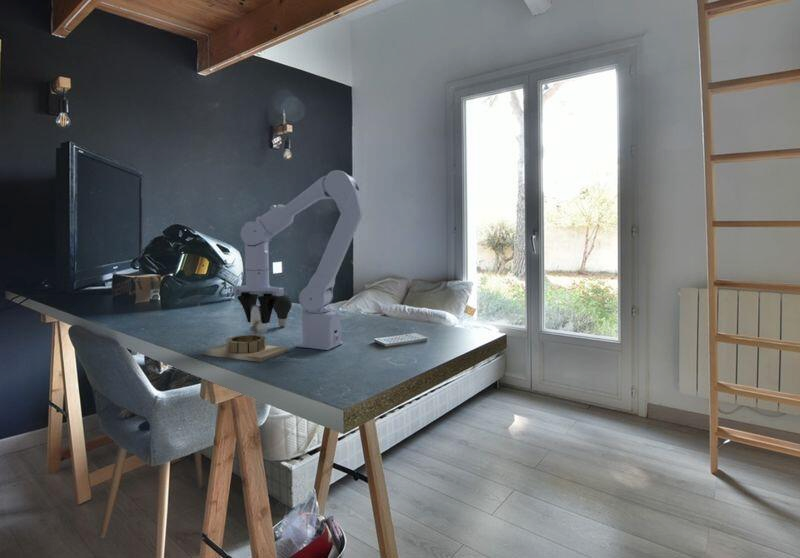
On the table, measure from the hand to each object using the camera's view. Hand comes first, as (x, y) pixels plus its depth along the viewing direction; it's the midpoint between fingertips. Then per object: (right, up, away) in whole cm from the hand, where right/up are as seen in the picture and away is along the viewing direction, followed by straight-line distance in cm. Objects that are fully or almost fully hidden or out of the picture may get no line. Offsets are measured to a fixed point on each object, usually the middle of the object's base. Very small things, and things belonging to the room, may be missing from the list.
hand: (258, 322), depth 119 cm
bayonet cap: (0, -3, 0) cm, 2 cm away
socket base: (0, -6, -10) cm, 12 cm away
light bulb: (+1, -4, +22) cm, 22 cm away
